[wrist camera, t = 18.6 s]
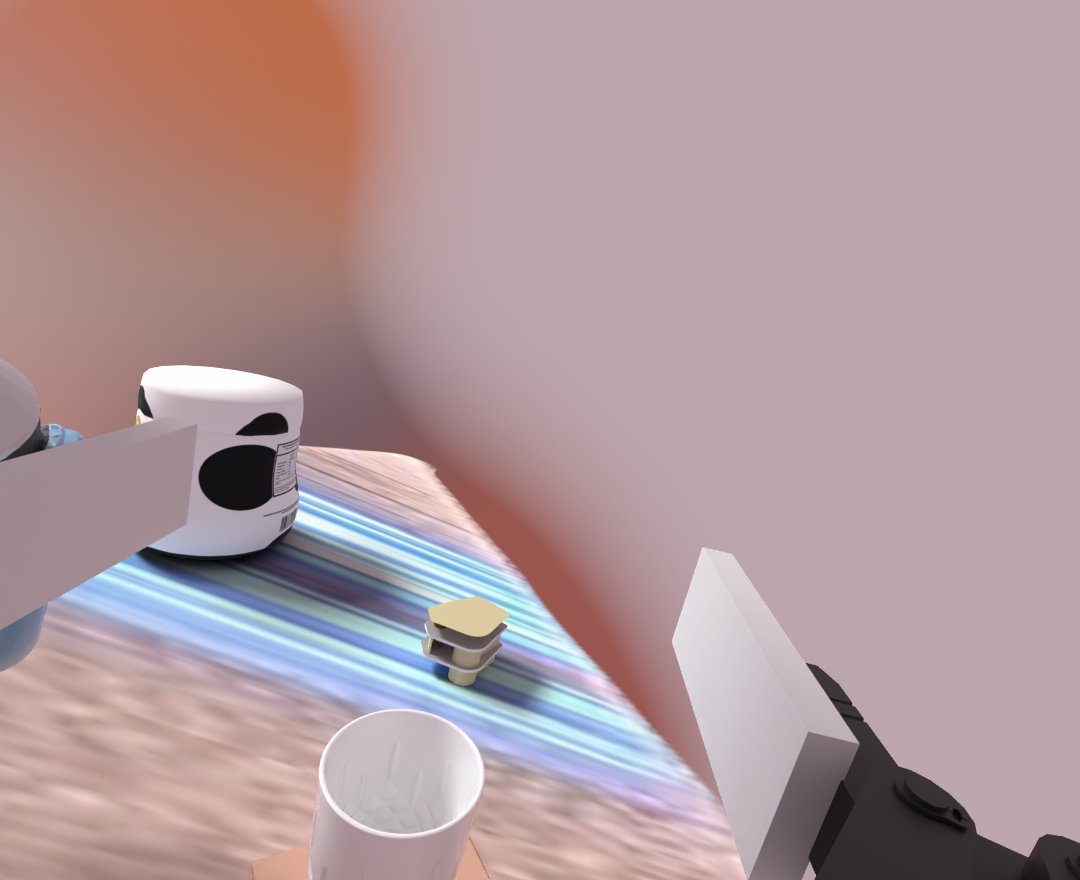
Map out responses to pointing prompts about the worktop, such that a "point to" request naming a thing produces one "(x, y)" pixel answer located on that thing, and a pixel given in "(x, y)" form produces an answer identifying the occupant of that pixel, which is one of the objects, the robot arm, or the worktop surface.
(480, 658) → the stacked layers on plate
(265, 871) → the coaster
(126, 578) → the worktop surface
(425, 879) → the white cup
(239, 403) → the milk container
